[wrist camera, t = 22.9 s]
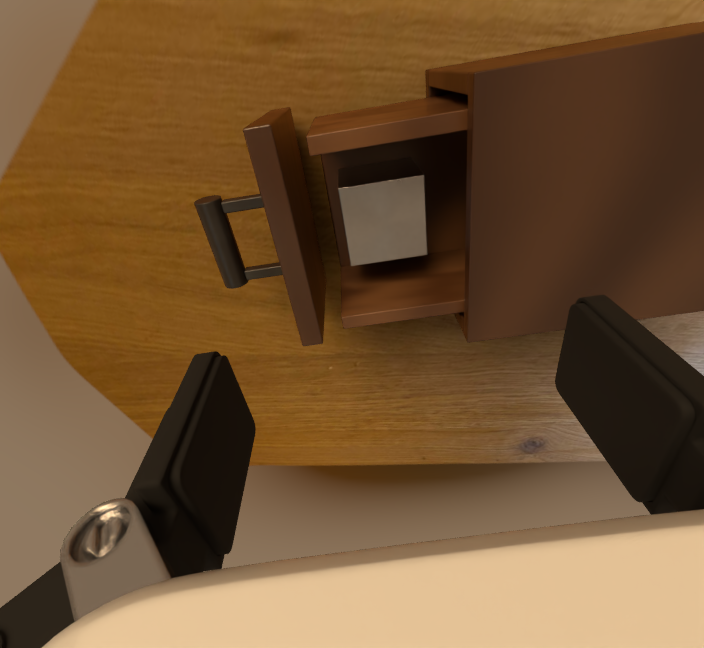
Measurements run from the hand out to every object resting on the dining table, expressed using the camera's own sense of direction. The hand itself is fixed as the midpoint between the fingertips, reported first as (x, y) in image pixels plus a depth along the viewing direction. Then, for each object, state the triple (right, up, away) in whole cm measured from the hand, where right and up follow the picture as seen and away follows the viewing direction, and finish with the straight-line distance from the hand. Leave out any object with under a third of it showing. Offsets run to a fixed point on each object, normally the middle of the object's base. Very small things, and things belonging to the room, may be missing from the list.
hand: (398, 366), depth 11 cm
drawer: (-1, +10, +14) cm, 17 cm away
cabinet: (+11, +12, +14) cm, 22 cm away
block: (0, +9, +13) cm, 16 cm away
